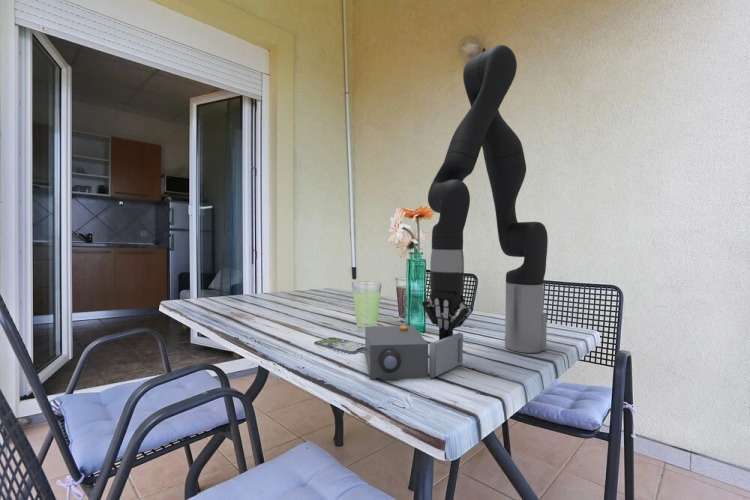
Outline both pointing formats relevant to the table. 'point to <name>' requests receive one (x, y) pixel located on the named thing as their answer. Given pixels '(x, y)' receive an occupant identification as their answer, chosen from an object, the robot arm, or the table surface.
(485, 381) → the table surface
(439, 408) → the table surface
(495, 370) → the table surface
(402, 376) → the camera body
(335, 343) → the smartphone
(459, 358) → the side door
